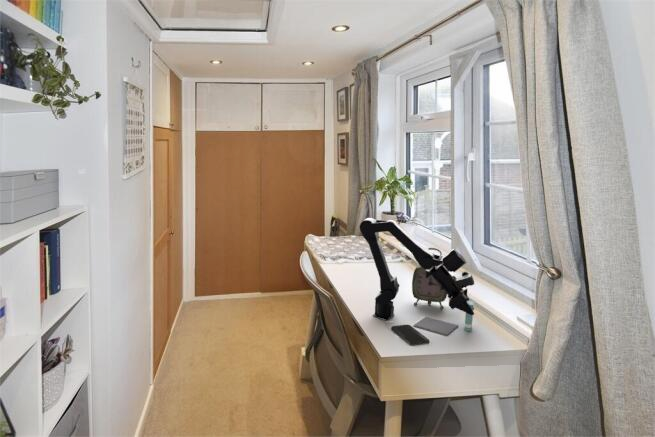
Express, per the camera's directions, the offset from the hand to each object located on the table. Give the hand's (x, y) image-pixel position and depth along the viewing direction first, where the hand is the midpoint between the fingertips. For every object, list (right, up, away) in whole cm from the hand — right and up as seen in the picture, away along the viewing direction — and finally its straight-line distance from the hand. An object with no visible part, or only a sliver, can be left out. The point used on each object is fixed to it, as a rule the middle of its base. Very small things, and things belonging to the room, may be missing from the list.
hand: (473, 312), depth 167 cm
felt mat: (-13, -6, +2) cm, 15 cm away
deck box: (-2, -6, +1) cm, 7 cm away
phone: (-25, -7, -6) cm, 27 cm away
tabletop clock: (-11, -3, +24) cm, 27 cm away
